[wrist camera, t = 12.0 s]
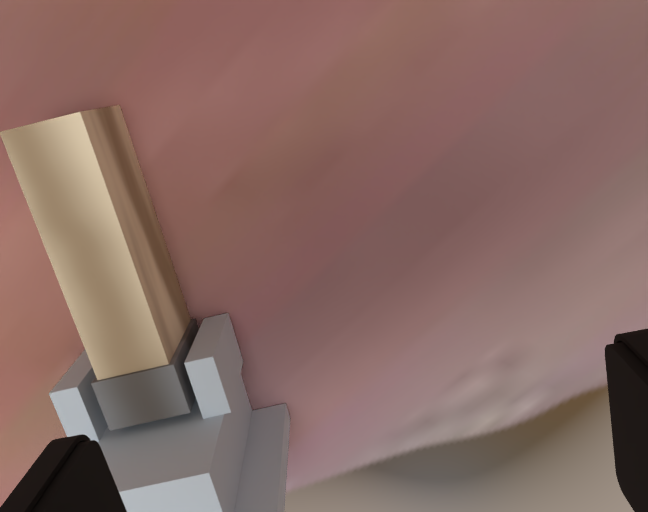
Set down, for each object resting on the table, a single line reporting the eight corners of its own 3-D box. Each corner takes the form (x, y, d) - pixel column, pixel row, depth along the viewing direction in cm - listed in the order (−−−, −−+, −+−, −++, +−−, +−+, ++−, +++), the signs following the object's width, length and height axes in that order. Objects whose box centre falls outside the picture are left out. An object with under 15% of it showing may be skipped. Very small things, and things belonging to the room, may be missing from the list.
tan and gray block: (124, 103, 34) (84, 110, 28) (209, 360, 38) (190, 412, 33) (47, 123, 34) (-10, 134, 28) (140, 375, 39) (109, 430, 33)
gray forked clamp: (60, 351, 38) (-63, 487, 26) (257, 306, 37) (229, 423, 25) (104, 459, 40) (11, 631, 28) (290, 418, 40) (279, 576, 27)
